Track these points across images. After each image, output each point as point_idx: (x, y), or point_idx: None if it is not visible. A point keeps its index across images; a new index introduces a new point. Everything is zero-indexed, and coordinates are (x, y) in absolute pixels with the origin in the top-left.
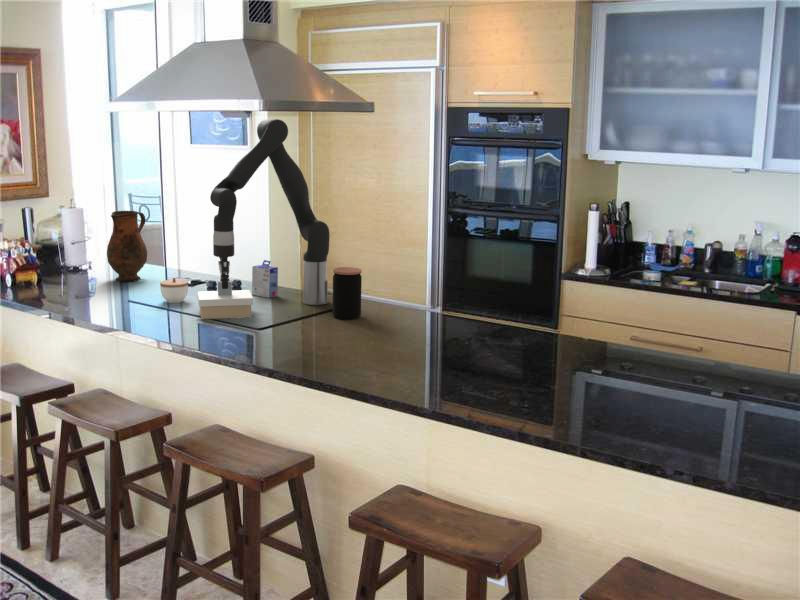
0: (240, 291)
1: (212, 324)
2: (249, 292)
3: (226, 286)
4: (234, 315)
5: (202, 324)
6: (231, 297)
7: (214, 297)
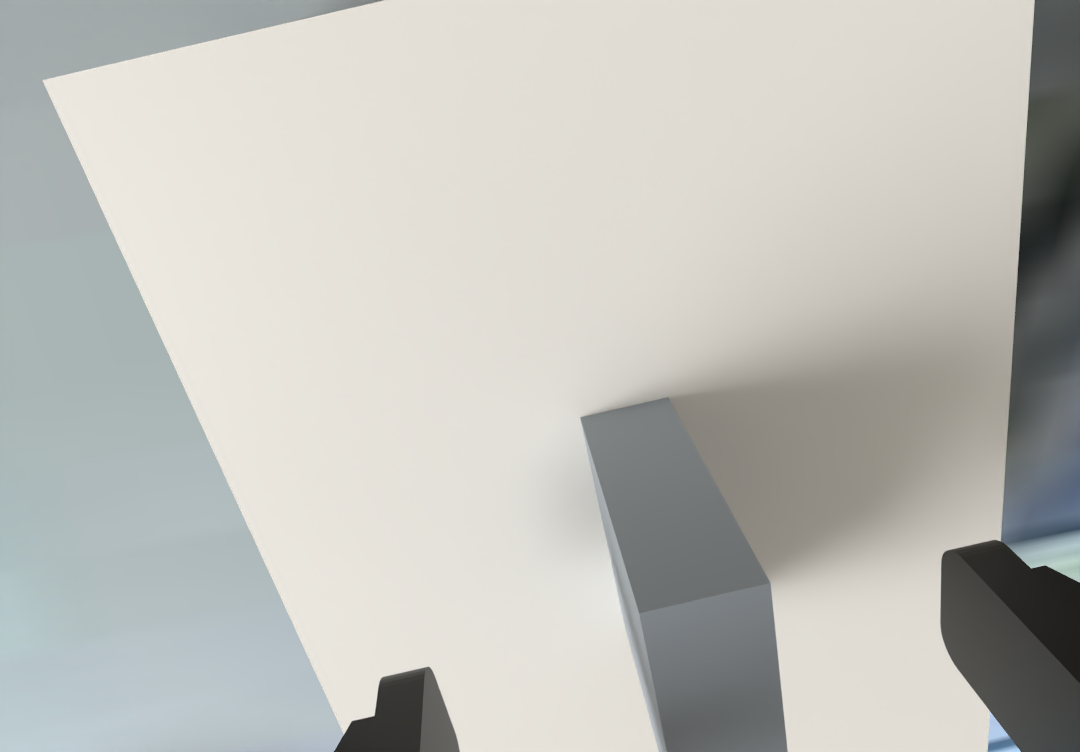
0: (298, 279)
1: (1057, 413)
2: (372, 32)
3: (1073, 595)
4: None
5: (1032, 507)
6: (896, 366)
7: (859, 626)
